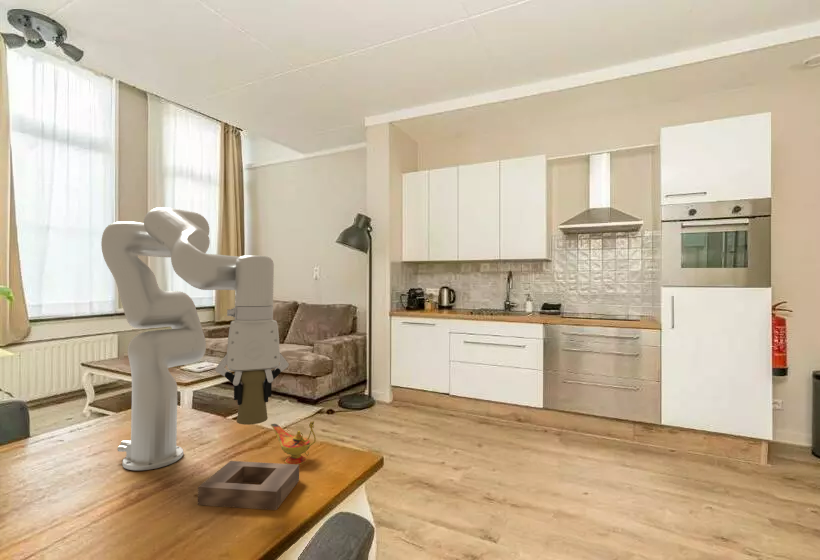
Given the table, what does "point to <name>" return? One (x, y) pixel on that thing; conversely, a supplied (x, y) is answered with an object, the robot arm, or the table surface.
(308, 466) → the table surface
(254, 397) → the cork
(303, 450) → the magic lamp
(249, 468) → the shaker holder
